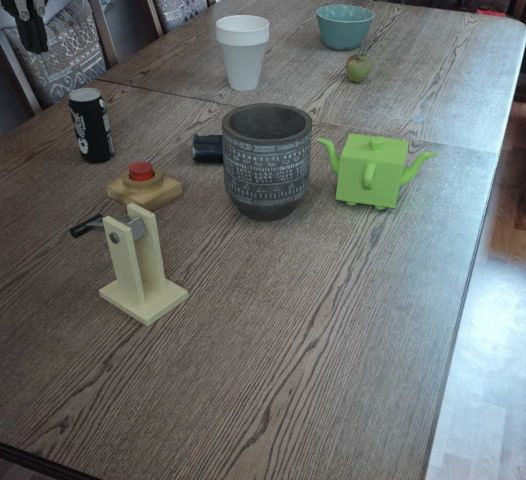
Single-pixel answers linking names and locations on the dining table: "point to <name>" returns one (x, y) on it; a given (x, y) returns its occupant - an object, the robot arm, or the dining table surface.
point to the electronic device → (207, 148)
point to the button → (141, 171)
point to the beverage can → (91, 124)
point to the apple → (357, 67)
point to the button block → (144, 190)
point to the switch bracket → (139, 270)
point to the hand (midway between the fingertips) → (36, 50)
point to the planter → (266, 158)
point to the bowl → (343, 25)
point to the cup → (243, 48)
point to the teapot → (372, 169)
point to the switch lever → (97, 225)
